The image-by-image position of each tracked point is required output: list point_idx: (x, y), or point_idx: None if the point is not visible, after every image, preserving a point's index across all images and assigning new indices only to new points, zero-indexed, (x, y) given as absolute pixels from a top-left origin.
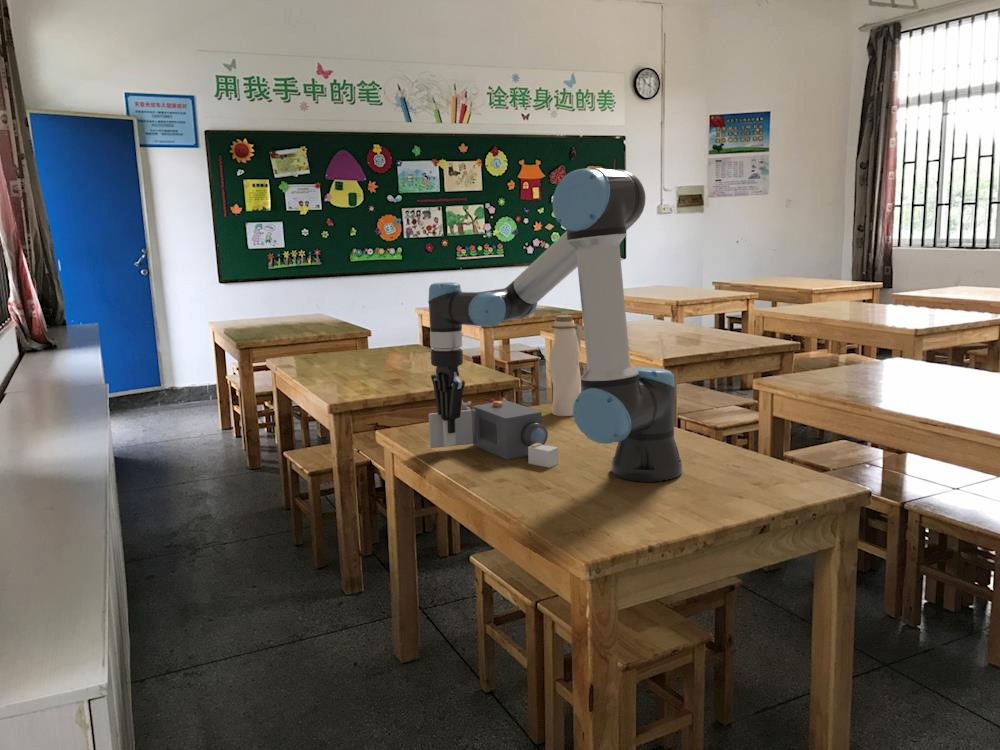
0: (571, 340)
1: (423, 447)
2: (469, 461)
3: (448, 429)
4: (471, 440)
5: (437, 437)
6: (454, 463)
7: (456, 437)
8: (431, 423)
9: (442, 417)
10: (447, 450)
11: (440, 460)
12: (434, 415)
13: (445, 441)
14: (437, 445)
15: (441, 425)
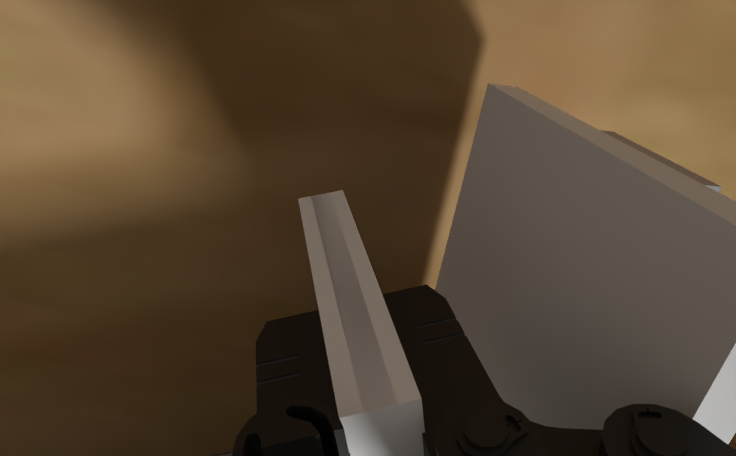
0: None
1: (651, 61)
2: (46, 289)
3: (303, 346)
4: None
5: (509, 190)
6: (19, 163)
7: None
8: (635, 205)
9: (463, 423)
10: (444, 217)
11: (172, 73)
12: (704, 332)
13: (305, 224)
14: (478, 155)
15: (557, 312)
